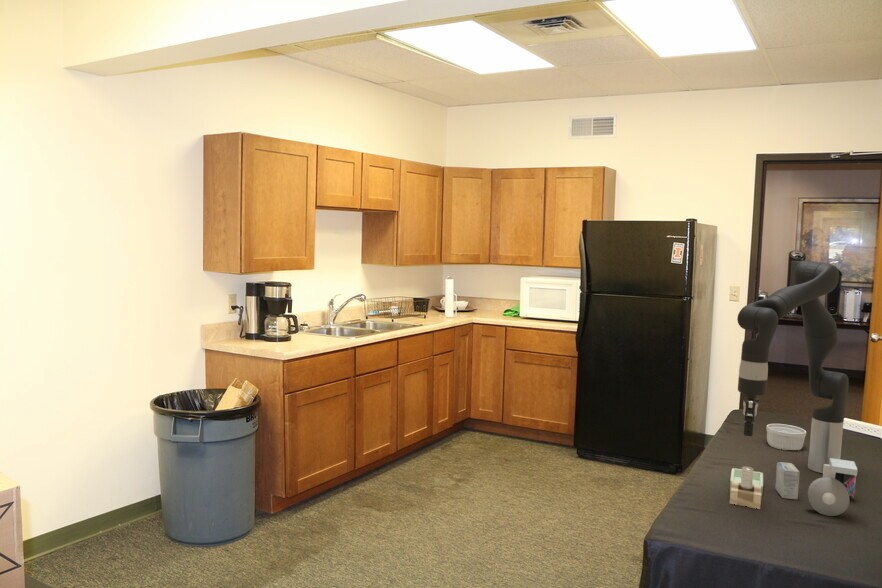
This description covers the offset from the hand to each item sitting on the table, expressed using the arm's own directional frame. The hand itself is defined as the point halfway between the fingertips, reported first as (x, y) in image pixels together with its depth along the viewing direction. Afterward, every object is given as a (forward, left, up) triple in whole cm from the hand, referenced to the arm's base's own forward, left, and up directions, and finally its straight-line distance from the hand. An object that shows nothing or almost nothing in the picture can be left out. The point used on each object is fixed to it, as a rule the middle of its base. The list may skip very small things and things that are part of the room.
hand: (748, 432), depth 204 cm
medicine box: (-13, +12, -21) cm, 27 cm away
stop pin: (0, +1, -21) cm, 21 cm away
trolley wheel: (-3, +22, -20) cm, 30 cm away
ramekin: (-68, +13, -21) cm, 72 cm away
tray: (-14, +1, -20) cm, 25 cm away
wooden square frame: (0, +1, -21) cm, 21 cm away
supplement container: (-19, +27, -21) cm, 39 cm away
